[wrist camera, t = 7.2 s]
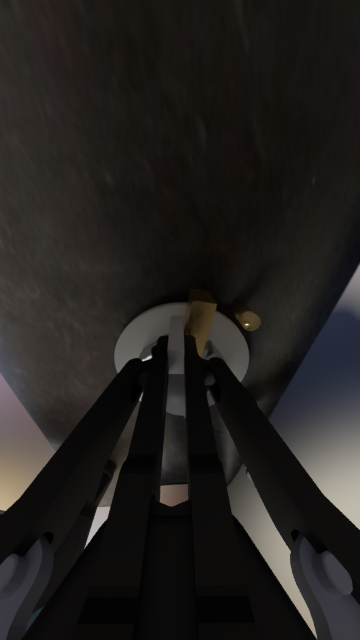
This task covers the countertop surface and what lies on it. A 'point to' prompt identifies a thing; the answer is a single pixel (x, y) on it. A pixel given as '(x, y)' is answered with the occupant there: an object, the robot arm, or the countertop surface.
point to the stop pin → (245, 315)
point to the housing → (158, 324)
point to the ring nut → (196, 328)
